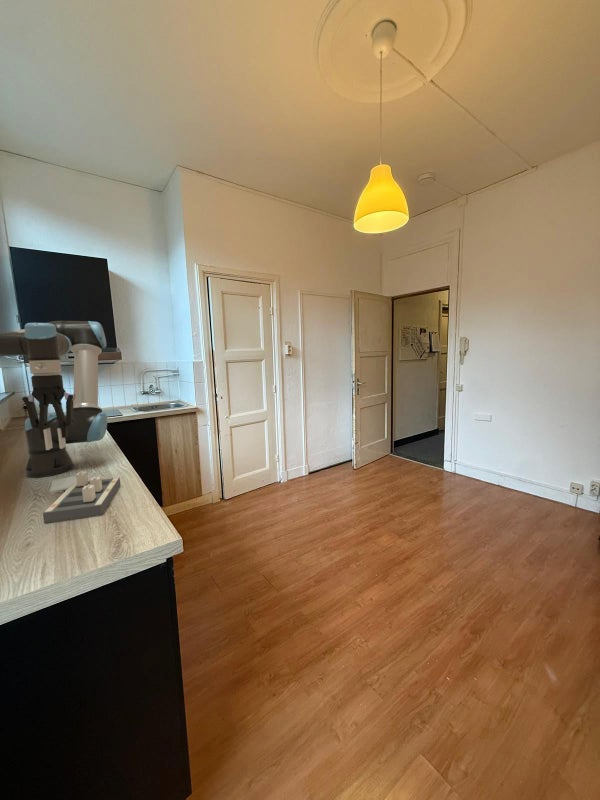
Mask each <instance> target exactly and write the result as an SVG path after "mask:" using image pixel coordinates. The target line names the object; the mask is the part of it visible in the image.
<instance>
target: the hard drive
mask: <svg viewBox="0 0 600 800" xmlns="http://www.w3.org/2000/svg"><path fill="white" fill-rule="evenodd" d="M73 483H77V481H76V475H73V476H68V477H63V478H57V479H53V480H52V481H51V485H50V488H49V495H50V494H51V495H53V494H52V493H56V494H59V493H58V492H60V493H64V492H63V491H66V490H67V489H68V488H69V487H70V486H71V485H72V484H73Z"/></svg>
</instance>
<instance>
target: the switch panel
mask: <svg viewBox="0 0 600 800" xmlns="http://www.w3.org/2000/svg"><path fill="white" fill-rule="evenodd" d="M101 480H102V490H101V491H100V492H95V496H96V498H95V499H94V501H90V502H83V494H82V489H83V488H84V486H78V487H77V483H73V484H72V485H71V486H70V487H69V488H68V489H67V490H66V491H65V492H62V493H61V495H60V496H59V497H57V498H56V500H54V502H53V503H52V504H50V506H49V507H47V508H46V510H44V511H43V512H42V518H43V523H45V524H50V522H51V523H57V521H58V522H63V520H65V521H70V520H69V519H72V520H77V519H83V518H84V519H85V518H91V517H98V516H103V515H104V513H105V511H106V510H107V508H108V507H109V505H110V504H111V502H112V500H113V499H114V498H115V496H116V494H117V492H118V491H119V489H120V487H121V486H120V485H121V479H120V477H114V478H104V479H103V478H102V479H101ZM88 484H90V480H88ZM88 484H87V485H88ZM87 485H86V486H87ZM118 488H119V489H118ZM117 490H118V491H117ZM115 493H116V494H115Z"/></svg>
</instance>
